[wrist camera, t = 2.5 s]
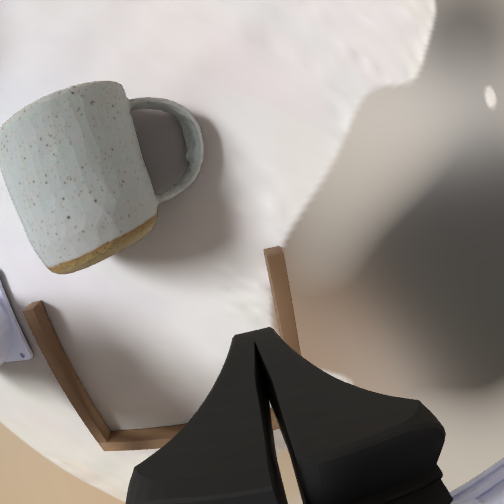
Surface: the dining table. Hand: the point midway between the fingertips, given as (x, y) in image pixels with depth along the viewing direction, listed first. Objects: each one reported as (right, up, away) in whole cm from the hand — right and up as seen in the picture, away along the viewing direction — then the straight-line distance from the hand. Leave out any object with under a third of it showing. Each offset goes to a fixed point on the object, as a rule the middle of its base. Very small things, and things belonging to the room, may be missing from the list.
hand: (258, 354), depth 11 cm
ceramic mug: (-9, +9, +8) cm, 15 cm away
